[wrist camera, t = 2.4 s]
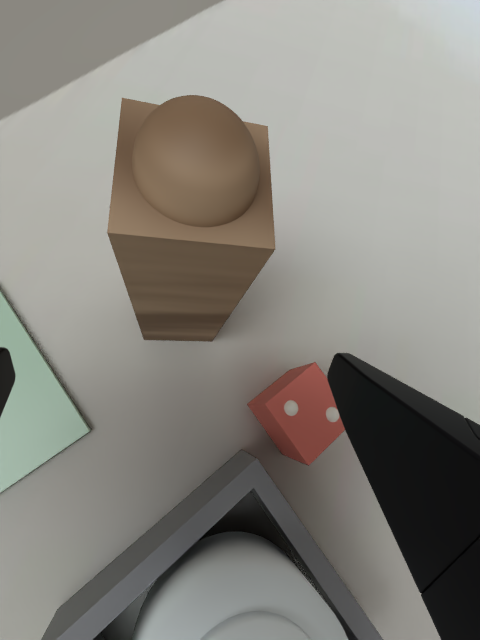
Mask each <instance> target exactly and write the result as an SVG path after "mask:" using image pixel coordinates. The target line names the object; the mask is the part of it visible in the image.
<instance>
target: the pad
mask: <svg viewBox="0 0 480 640" xmlns="http://www.w3.org/2000/svg"><path fill="white" fill-rule="evenodd" d="M0 347H5V348H7V349H8V350H9V352H10V355H11V359H12V363H13V366H14V370H15V376H16V377H15V383H14V385H13V388H12V390H11V393H10V395H9V398H8V400H7V402H6V405H5V407H4V410H3V412H2V415H1V417H0V493H1V492H3V491H4V490H6V489H7V488H9V487H10V486H12V485H13V484H14V483H16V482H17V481H19V480H20V479H22V478H23V477H25V476H26V475H28V474H29V473H30V472H32V471H33V470H35V469H36V468H38V467H39V466H41V465H42V464H44V463H45V462H46V461H48V460H49V459H51V458H52V457H54V456H55V455H57V454H58V453H60V452H61V451H62V450H64V449H65V448H67V447H68V446H70V445H71V444H73V443H74V442H76V441H77V440H78V439H80V438H81V437H83V436H84V435H86V434H87V433H89V432H90V431H91V429H90V428H89V426H88V425H87V423H86V422H85V420H84V419H83V417H82V416H81V414H80V412H79V411H78V409H77V408H76V406H75V405H74V403H73V402H72V400H71V398H70V397H69V395H68V394H67V392H66V391H65V389H64V388H63V386H62V384H61V383H60V381H59V380H58V378H57V377H56V375H55V374H54V372H53V370H52V369H51V367H50V366H49V364H48V363H47V361H46V360H45V358H44V356H43V355H42V353H41V352H40V350H39V349H38V347H37V346H36V344H35V342H34V341H33V339H32V338H31V336H30V335H29V333H28V332H27V330H26V328H25V327H24V325H23V324H22V322H21V321H20V319H19V318H18V316H17V314H16V313H15V311H14V310H13V308H12V307H11V305H10V304H9V302H8V300H7V299H6V297H5V296H4V294H3V293H2V291H1V290H0Z"/></svg>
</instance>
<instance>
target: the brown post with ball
mask: <svg viewBox="0 0 480 640" xmlns="http://www.w3.org/2000/svg"><path fill="white" fill-rule="evenodd" d="M107 233H108V236H109V239H110V242H111V245H112V248H113V251H114V254H115V257H116V259H117V262H118V265H119V268H120V271H121V274H122V277H123V280H124V283H125V286H126V289H127V291H128V294H129V297H130V300H131V303H132V306H133V309H134V312H135V315H136V318H137V321H138V324H139V326H140V329H141V332H142V335H143V338H144V340H176V341H212V340H213V339H214V338H215V336H216V335H217V333H218V332H219V330H220V329H221V327H222V326H223V324H224V323H225V322H226V320H227V319H228V317H229V316H230V314H231V313H232V311H233V310H234V308H235V307H236V306H237V304H238V303H239V301H240V300H241V298H242V297H243V295H244V294H245V292H246V291H247V290H248V288H249V287H250V285H251V284H252V282H253V281H254V279H255V278H256V277H257V275H258V274H259V272H260V271H261V269H262V268H263V266H264V265H265V263H266V262H267V261H268V259H269V258H270V256H271V255H272V253H273V252H274V250H275V236H274V220H273V204H272V188H271V173H270V157H269V141H268V126H264V125H259V124H253V123H248V122H243V121H242V120H241V119H240V118H239V117H238V115H237V114H235V113H234V112H233V111H232V110H231V109H229V108H228V107H227V106H225V105H224V104H222V103H220V102H218V101H216V100H214V99H211V98H208V97H204V96H197V95H187V96H181V97H176V98H173V99H170V100H168V101H166V102H165V103H163V104H161V105H156V104H151V103H146V102H141V101H136V100H131V99H125V98H122V103H121V112H120V121H119V130H118V140H117V149H116V158H115V167H114V176H113V185H112V194H111V203H110V213H109V222H108V231H107Z"/></svg>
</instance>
